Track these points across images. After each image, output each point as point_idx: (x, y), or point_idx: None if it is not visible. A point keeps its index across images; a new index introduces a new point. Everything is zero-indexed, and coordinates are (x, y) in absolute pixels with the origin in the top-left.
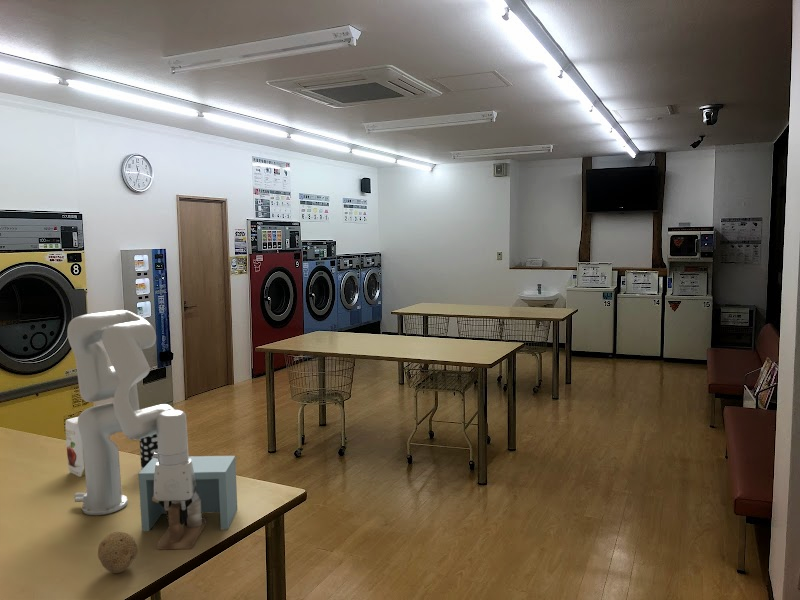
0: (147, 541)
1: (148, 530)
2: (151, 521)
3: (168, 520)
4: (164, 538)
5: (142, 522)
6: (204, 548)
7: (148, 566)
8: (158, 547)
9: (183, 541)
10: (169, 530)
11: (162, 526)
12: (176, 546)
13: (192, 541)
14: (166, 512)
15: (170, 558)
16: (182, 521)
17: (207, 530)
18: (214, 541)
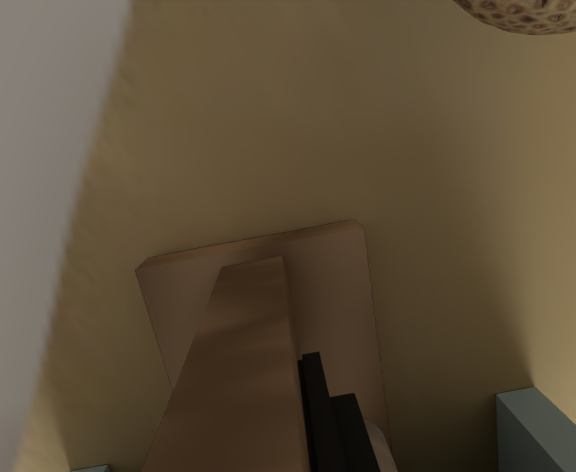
0: (457, 296)
1: (501, 395)
2: (519, 456)
3: (324, 376)
4: (347, 298)
5: (570, 427)
6: (76, 275)
7: (310, 15)
8: (349, 223)
9: (199, 282)
10: (284, 291)
11: (443, 443)
12: (236, 245)
13: (145, 295)
14: (375, 461)
15: (219, 135)
16: None
17: None
18: (66, 353)
